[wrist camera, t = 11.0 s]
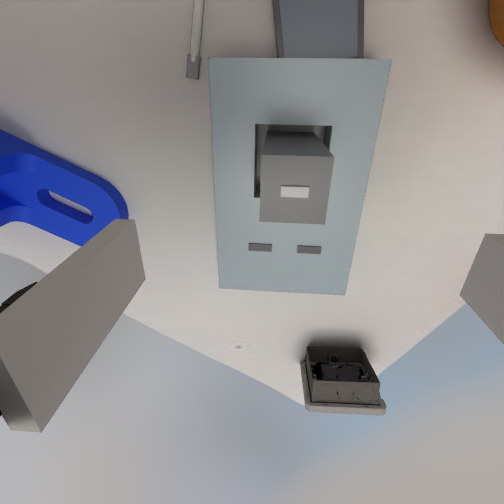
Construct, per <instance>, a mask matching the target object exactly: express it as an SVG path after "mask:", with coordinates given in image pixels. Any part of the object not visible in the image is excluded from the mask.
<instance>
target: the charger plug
mask: <svg viewBox="0 0 504 504" xmlns="http://www.w3.org/2000/svg"><path fill="white" fill-rule="evenodd" d="M333 164H334V156H333V155H332V153H331V152H330V151H329V150H328V148H327V147H326V146H325V145H324V144H323V142H322V141H321V140H320V139H319V137H318V136H317V135H316V134H315V133H314V132H282V131H267V135H266V139H265V142H264V146H263V150H262V154H261V180H260V217H259V222H277V223H300V224H323V225H325V221H326V214H327V207H328V199H329V192H330V185H331V178H332V171H333Z"/></svg>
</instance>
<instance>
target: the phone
mask: <svg viewBox="0 0 504 504" xmlns="http://www.w3.org/2000/svg"><path fill="white" fill-rule="evenodd" d="M273 8H274V18H275V28H276V38H277V47H278V57H279V58H340V59H363V43H364V0H273Z"/></svg>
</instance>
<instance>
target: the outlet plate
mask: <svg viewBox="0 0 504 504" xmlns="http://www.w3.org/2000/svg"><path fill="white" fill-rule="evenodd" d="M391 61H392V59H340V58H238V57H209V77H210V99H211V121H212V143H213V165H214V187H215V209H216V231H217V253H218V275H219V288H223V289H241V290H258V291H276V292H293V293H311V294H328V295H345V293H346V288H347V283H348V278H349V273H350V268H351V263H352V258H353V253H354V248H355V243H356V238H357V233H358V228H359V223H360V218H361V212H362V207H363V202H364V197H365V192H366V187H367V182H368V177H369V172H370V167H371V162H372V157H373V152H374V147H375V142H376V137H377V132H378V127H379V121H380V116H381V111H382V106H383V101H384V96H385V91H386V86H387V81H388V76H389V71H390V66H391ZM267 131H282V132H314V133H315V134H316V135H317V136H318V137H319V139H320V140H321V141H322V142H323V144H324V145H325V146H326V147H327V148H328V150H329V151H330V152H331V153H332V155H333V156H334V164H333V171H332V178H331V185H330V192H329V199H328V207H327V214H326V221H325V225H323V224H300V223H277V222H259V217H260V180H261V154H262V150H263V146H264V142H265V139H266V135H267Z"/></svg>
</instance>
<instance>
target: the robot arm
mask: <svg viewBox="0 0 504 504" xmlns="http://www.w3.org/2000/svg"><path fill="white" fill-rule="evenodd" d="M144 280H145V273H144V268H143V263H142V257H141V252H140V246H139V241H138V236H137V230H136V225H135V220H130V219H115V220H113V221H112V222H111V223H110V224H109V225H107V226H106V227H105V228H104V229H102V230H101V231H100V232H99V233H98V234H96V235H95V236H94V237H93V238H92V239H90V240H89V241H88V242H87V243H85V244H84V245H83V246H82V247H81V248H79V249H78V250H77V251H76V252H75V253H73V254H72V255H71V256H70V257H68V258H67V259H66V260H65V261H64V262H62V263H61V264H60V265H59V266H57V267H56V268H55V269H54V270H53V271H51V272H50V273H49V274H48V275H47V276H45V277H44V278H43V279H42V280H40V281H39V282H35V283H33V284H31V285H29V286H27V287H25V288H23V289H21V290H19V291H17V292H16V293H14V294H13V295H12V296H11V297H9V298H8V299H7V300H6V301H4V302H3V303H2V306H0V416H1V415H2V416H3V418H4V419H5V421H6V423H7V424H8V426H9V428H10V429H11V430H17V431H29V432H42V431H43V429H44V428H45V426H46V425H47V424H48V422H49V421H50V419H51V418H52V416H53V415H54V413H55V412H56V410H57V409H58V407H59V406H60V404H61V403H62V401H63V400H64V398H65V397H66V395H67V394H68V393H69V391H70V389H71V388H72V386H73V385H74V384H75V382H76V381H77V379H78V377H79V376H80V375H81V373H82V372H83V370H84V369H85V367H86V366H87V365H88V363H89V362H90V360H91V358H92V357H93V355H94V354H95V353H96V351H97V350H98V348H99V347H100V345H101V344H102V342H103V341H104V339H105V338H106V336H107V335H108V333H109V332H110V331H111V329H112V328H113V326H114V325H115V323H116V322H117V320H118V319H119V317H120V316H121V314H122V313H123V311H124V310H125V308H126V307H127V306H128V304H129V303H130V301H131V300H132V298H133V297H134V295H135V294H136V292H137V291H138V289H139V288H140V286H141V285H142V283H143V282H144ZM460 296H461V297H462V298H463V299H464V300H465V301H466V303H467V304H468V305H469V306H470V307H471V308H472V309H473V311H474V312H475V313H476V314H477V315H478V316H479V317H480V318H481V319H482V320H483V322H484V323H485V324H486V325H487V326H488V327H489V329H491V331H492V332H493V333H494V334H495V335H496V336H497V338H498V339H499V340H500V341H501V342H502V343H503V344H504V234H485V236H484V238H483V241H482V243H481V245H480V248H479V250H478V252H477V255H476V257H475V259H474V262H473V264H472V267H471V269H470V271H469V274H468V276H467V278H466V281H465V283H464V285H463V288H462V290H461V293H460Z"/></svg>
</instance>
